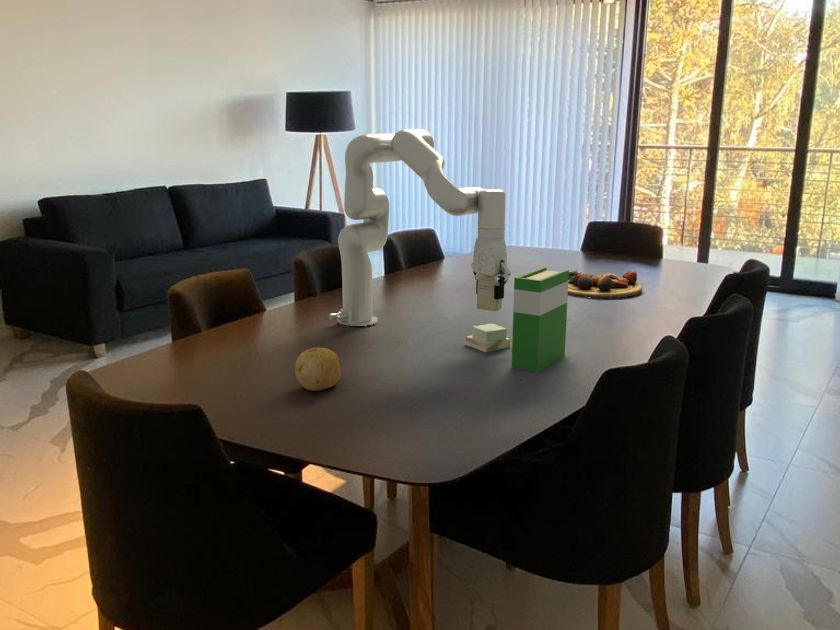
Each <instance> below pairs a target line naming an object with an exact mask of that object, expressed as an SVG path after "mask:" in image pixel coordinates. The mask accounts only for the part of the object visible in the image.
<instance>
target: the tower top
mask: <svg viewBox="0 0 840 630" xmlns="http://www.w3.org/2000/svg"><path fill="white" fill-rule="evenodd" d="M471 328H472V329H471V330H472V331H471V332H472V333H471V335H472V337H475V338H477V339H480V340H482V341H484V342H491V341H497V340H503V339H506V337H507V335H508V334H507V331H508V330H507V329H508V328H506V327H503V326H500V325H497V324H495V323H493V322H492V323H486V324H480V325H474V326H472V327H471Z"/></svg>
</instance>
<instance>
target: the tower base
mask: <svg viewBox="0 0 840 630" xmlns="http://www.w3.org/2000/svg"><path fill="white" fill-rule="evenodd" d="M465 346H468V347H470V348H474V349H476V350H478V351H481V352H484V353H487V352H488V353H489V352H494V351H498V350H502V349H503V350H504V349H509V348H510V347H511V338H509V337H507V336H506V339H503V340H497V341H491V342H484V341H482V340H480V339H477V338H475V337H472V334H471V335H467V336H465Z"/></svg>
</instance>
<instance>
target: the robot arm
mask: <svg viewBox="0 0 840 630" xmlns="http://www.w3.org/2000/svg"><path fill="white" fill-rule="evenodd" d="M432 136H433V135H431V133H430V132H429V131H427V130H425V129H424V128H405V129H401V130H398V131H397V132H393V133H391V132H390V133H366V134H365V133H364V134H361V135H359V136H356V137H354V138H353V139H351V141H349V143H348V144H347V146H346V149H345V154H344V163H345V181H344V200H343V201H344V213H345V215H346V216H347V217H348V218H349V219H350V220H354V221H355V220H356V221H358V220H359V221H360V220H363V221H362V222H358V223H357V222H356V223H352V224H348V225H347V226H344V227H343V228H342V229H341V230H340V232H339V234H338V237H337V244H338V250H339V253H340V260H341V279H342V308H339V311H338V312H336V313H335V312H333V313H329V315H328V318H329V320H331V321H332V320H333V321H334V320H337V322H339V323H341V324H344V325H350V326H364V327H368V326H367V325H371V326H374V325H376V324H378V322H379V321H378V320H379V319H378V317H377V316H375V315H374V313H373V312H374V311H373V310H374V306H373V302H374V301H373V300H374V299H373V265H372V262H371V259H370V257H369V254H368V253H371V252H375V251H379V250H381V249H382V248H383V247H385V245H386V243H387V239H388V235H389V219H390V201H389V198H388V195H387V193H386V192H385V191H384V190H383V189H381V188H379V187H375V186H374V174H373V169H372V167H371V164H373V163H374V164H375V163H376V164H377V163H388V162H389V163H392V162H399V161H402V163H404V164H405V165H406V166H408V167H409V169H411V170H412V171H413V172H414V173H415V174H416V175H417V176H418V177H419V178H421V180H422V181H423V184H424V187H425V190H426V192H427V193H428V196H429V197H430V198H431V199H432V201H433V202H435V203H436V205H438V206H439V207H440V208H441V209H442V210H443V211H444V212H445V213H447V214H449V215H451V216H454V217H461V216H467V215H473V214H477V237H476V239H475V242H474V249H473V254H472V255H473V257H472V258H473V259H472V262H471V264H470V267H471V270H472V273H473V275H474V280H475V281H476V283H475V284H476V285H475V294H476V295H477V289H478V267H480V268H481V274H483V275H487V276H493V277H494V280H495V283H496V285H494V299H495V300H497V299H502V300H503V299H504V298H505V286H506V284H507V281H508V280H509V277H510V276H511V274H512V273H511V271H510V269H509V268H508V256H507V244H506V240H505V239H506V237H505V236H506V235H505V234H506V232H505V230H506V229H505V228H506V199H507V198H506V192H505V191H504V190H503V189H500V188H482V187H479V186H478V187H477V186H467V187H466V186H465V187H457V186H455V184H453V183H452V182H451V181H450V180H449V179H448V178H447V177H446V176H445V175H444V173H443V169H444V167H445V164H446V163H445V158H444V157H443V155H441V154H439V153H438V152H437V150H435V149H434V148H435V141H434V138H433V137H432ZM499 271H500V274H498V272H499ZM498 277H500V280H499V279H498ZM339 323H338V324H339ZM341 324H340V325H341ZM373 324H374V325H373ZM344 325H343V326H344Z"/></svg>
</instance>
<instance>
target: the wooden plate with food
mask: <svg viewBox="0 0 840 630" xmlns="http://www.w3.org/2000/svg"><path fill="white" fill-rule="evenodd" d="M637 280H638V274H637V272H636V271H635V270H630V271H627V272H626V273H624V274H623V275H621V277H620V276H618V275H616V274H614V273H610V272H608V273H606V274H605V273H604V274H601V275H594V274H588V273H582V272H579V271H578V269H576V270H572V271H569V278H568V294H569V295H568V296H571V295H573V296H572V297H576V296H580V297H579V298H584V297H591V298H590V299H597V298H611V299H619V298H618V297H625V298H628V297H627V296H630V297H633V295H635V296H637V295H639V294H641V293H642V291H643V286H642V285H641V284H639V283H638V282H637Z"/></svg>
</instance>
